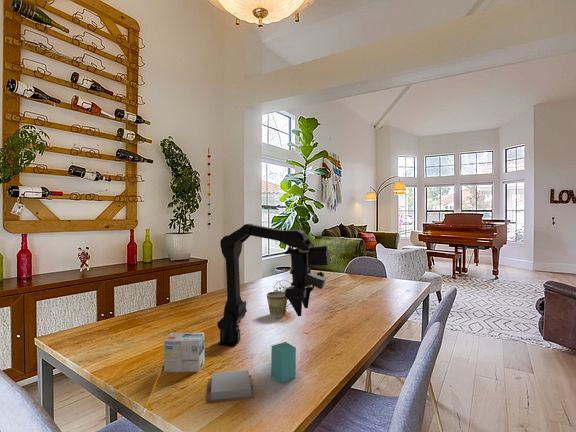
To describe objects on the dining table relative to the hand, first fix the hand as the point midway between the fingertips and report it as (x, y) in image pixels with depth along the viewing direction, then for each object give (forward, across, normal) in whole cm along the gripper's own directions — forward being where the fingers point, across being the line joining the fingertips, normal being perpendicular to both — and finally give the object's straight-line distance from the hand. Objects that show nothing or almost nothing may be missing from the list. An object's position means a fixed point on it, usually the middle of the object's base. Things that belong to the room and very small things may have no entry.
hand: (303, 312), depth 113 cm
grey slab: (+12, -30, +13) cm, 35 cm away
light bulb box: (+12, -23, +32) cm, 41 cm away
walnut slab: (+14, -30, +14) cm, 36 cm away
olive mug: (+13, +35, +21) cm, 43 cm away
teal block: (+14, -20, +2) cm, 24 cm away
